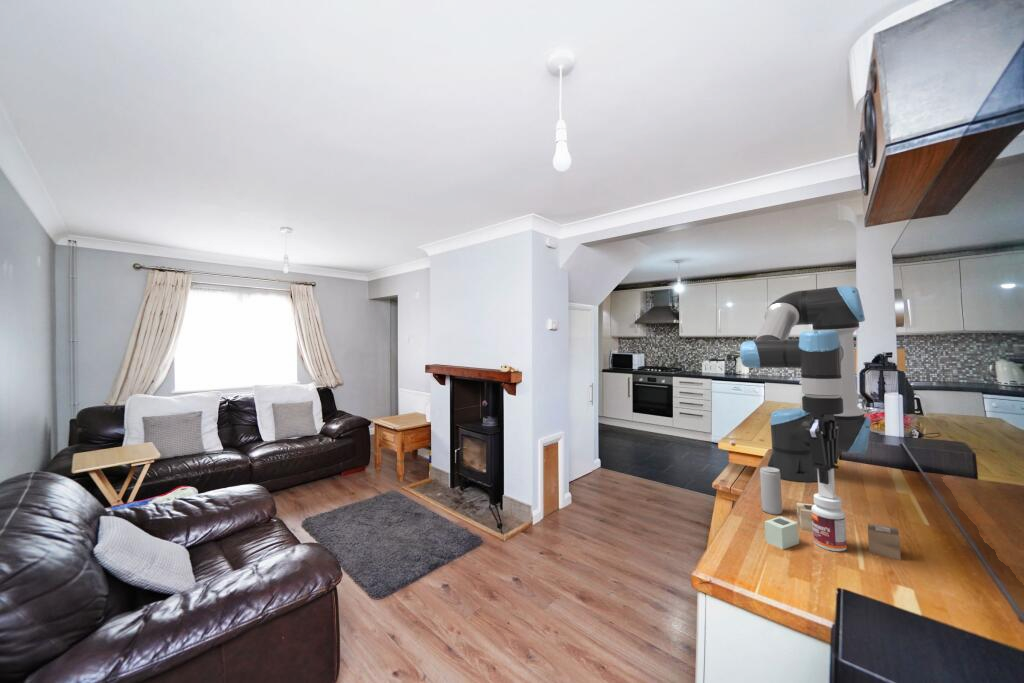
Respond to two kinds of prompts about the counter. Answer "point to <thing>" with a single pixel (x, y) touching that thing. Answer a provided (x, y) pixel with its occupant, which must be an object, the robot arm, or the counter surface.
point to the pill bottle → (828, 523)
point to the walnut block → (884, 541)
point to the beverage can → (771, 490)
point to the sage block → (781, 532)
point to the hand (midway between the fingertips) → (826, 496)
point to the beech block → (804, 516)
